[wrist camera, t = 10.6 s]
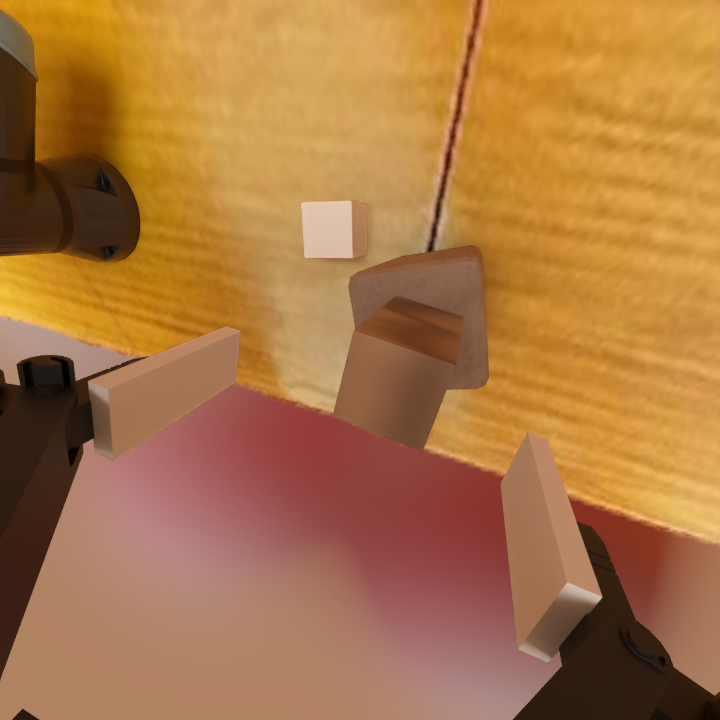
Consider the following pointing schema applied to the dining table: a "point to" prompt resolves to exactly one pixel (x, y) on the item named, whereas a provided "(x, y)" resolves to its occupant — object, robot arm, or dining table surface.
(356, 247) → the pale pink cube
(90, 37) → the dining table surface
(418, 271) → the block
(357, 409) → the walnut block
